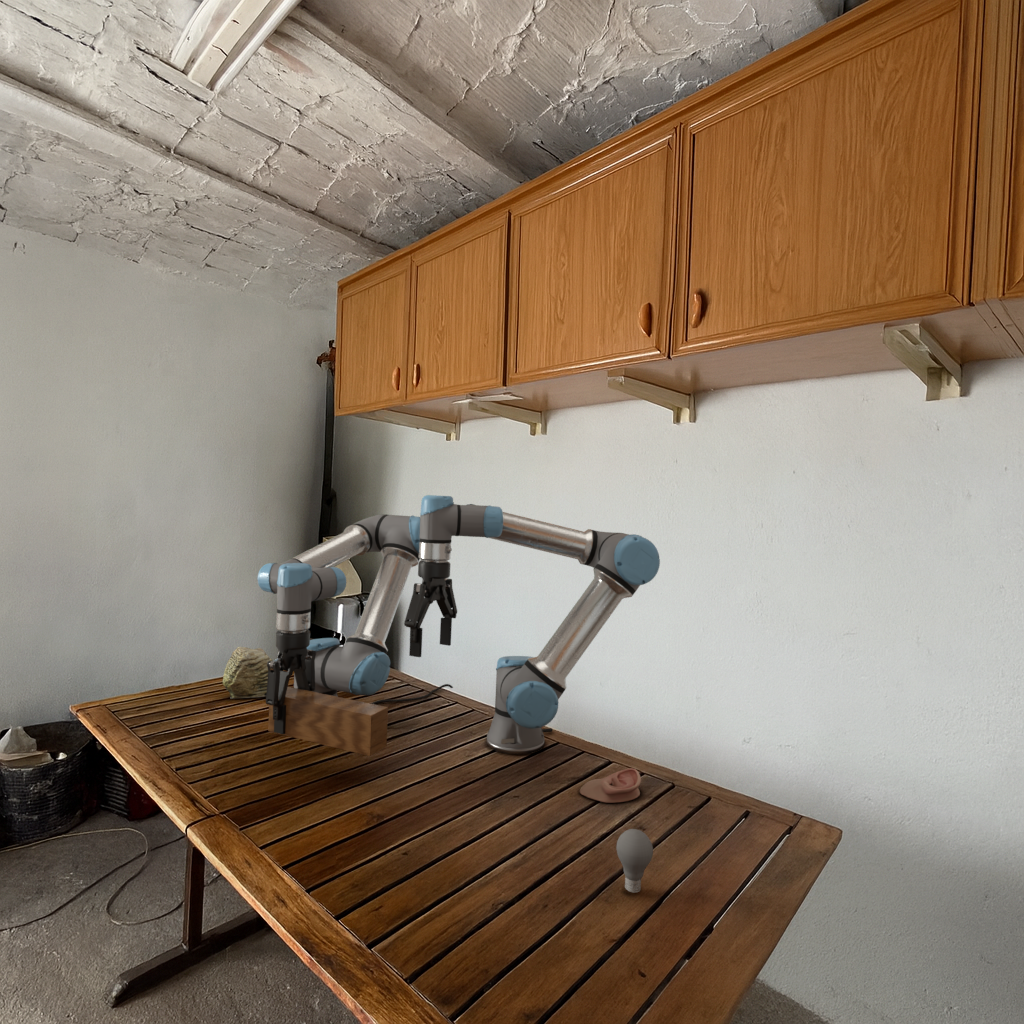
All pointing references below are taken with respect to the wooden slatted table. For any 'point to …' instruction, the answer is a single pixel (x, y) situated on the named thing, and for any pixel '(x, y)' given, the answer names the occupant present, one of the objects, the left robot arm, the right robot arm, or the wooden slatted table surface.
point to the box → (334, 721)
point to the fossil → (247, 673)
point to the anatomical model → (614, 787)
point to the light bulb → (634, 857)
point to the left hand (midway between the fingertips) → (290, 727)
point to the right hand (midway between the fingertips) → (430, 650)
